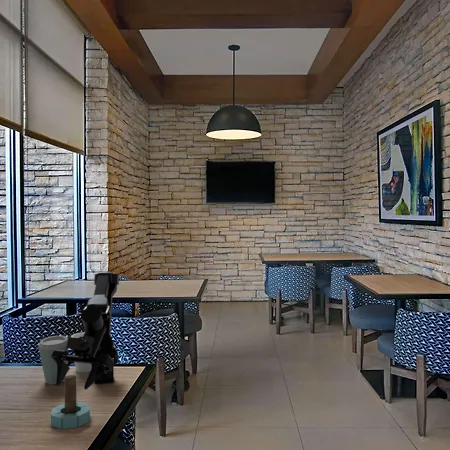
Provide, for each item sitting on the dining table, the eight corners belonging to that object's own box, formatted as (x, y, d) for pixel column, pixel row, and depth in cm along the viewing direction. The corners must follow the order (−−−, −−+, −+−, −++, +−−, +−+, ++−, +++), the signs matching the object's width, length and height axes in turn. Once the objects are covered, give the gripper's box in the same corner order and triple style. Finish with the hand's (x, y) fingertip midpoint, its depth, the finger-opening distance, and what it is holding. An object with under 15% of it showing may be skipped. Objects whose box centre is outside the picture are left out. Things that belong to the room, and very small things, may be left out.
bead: (89, 410, 141) (89, 400, 141) (89, 425, 131) (89, 415, 131) (53, 414, 139) (53, 404, 139) (49, 430, 129) (49, 419, 129)
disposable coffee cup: (64, 386, 160) (63, 343, 160) (33, 386, 161) (32, 343, 160) (74, 375, 171) (74, 335, 171) (45, 375, 171) (44, 335, 171)
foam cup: (66, 371, 175) (65, 337, 175) (81, 364, 184) (81, 331, 184) (87, 374, 172) (87, 339, 172) (102, 366, 181) (102, 333, 180)
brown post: (76, 417, 137) (76, 374, 137) (76, 421, 134) (75, 378, 134) (65, 418, 136) (64, 375, 136) (64, 423, 133) (64, 379, 133)
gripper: (54, 323, 142) (29, 371, 132) (108, 327, 137) (87, 378, 127) (70, 341, 150) (48, 388, 140) (122, 346, 145) (103, 395, 135)
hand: (71, 387), depth 135 cm, fingers open, 9 cm apart
